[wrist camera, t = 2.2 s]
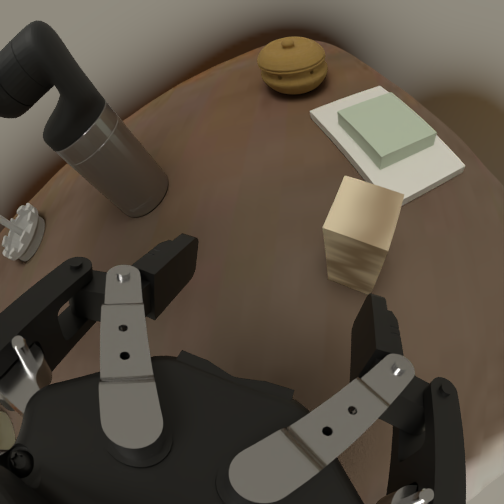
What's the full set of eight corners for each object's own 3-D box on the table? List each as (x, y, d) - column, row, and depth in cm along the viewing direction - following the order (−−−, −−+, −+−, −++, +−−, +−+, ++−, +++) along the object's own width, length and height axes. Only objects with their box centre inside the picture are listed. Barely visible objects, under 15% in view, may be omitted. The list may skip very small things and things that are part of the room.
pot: (264, 75, 50) (250, 34, 41) (323, 65, 47) (315, 23, 38) (268, 108, 45) (251, 61, 36) (336, 98, 42) (329, 48, 33)
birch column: (328, 279, 31) (322, 227, 20) (344, 240, 32) (344, 175, 22) (370, 295, 29) (388, 251, 18) (384, 255, 30) (404, 194, 19)
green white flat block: (310, 118, 41) (307, 98, 38) (379, 92, 40) (380, 74, 37) (388, 212, 32) (393, 193, 28) (462, 172, 31) (470, 153, 27)
